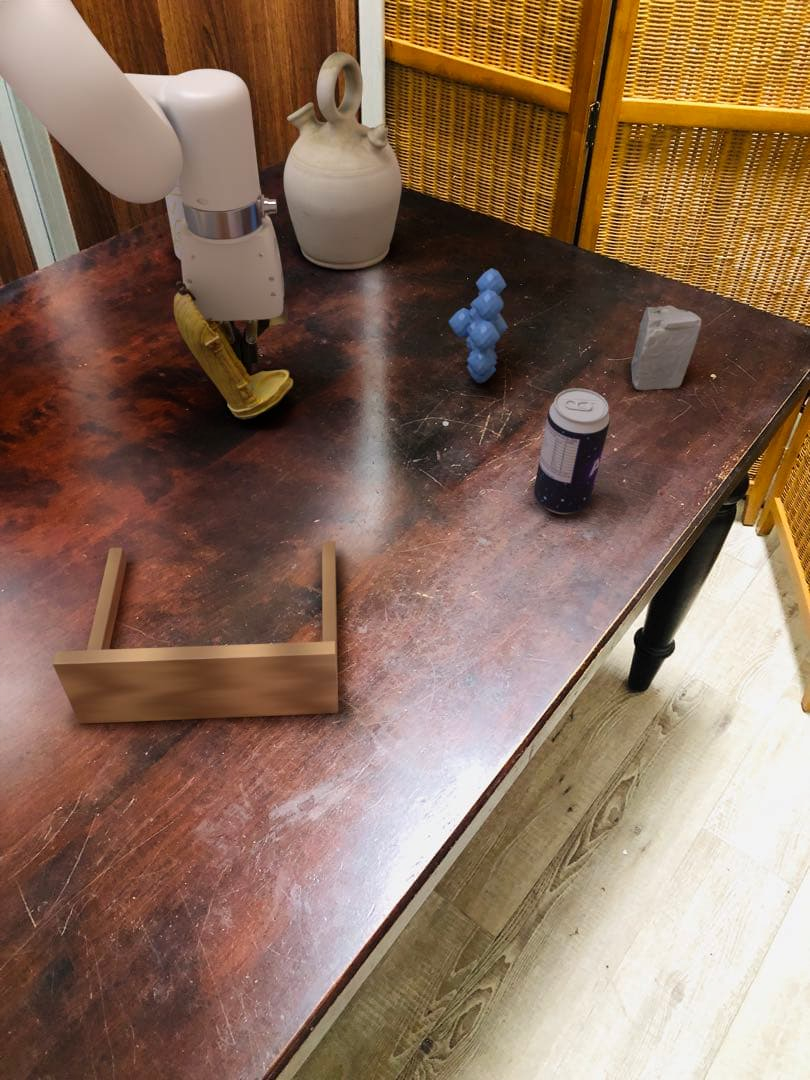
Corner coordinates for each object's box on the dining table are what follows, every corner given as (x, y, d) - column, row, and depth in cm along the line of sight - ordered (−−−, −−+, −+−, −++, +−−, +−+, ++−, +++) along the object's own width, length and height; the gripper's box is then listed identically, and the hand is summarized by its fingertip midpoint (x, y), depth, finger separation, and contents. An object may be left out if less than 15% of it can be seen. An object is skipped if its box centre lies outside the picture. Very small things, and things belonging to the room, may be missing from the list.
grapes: (450, 337, 108) (457, 246, 99) (505, 343, 108) (517, 252, 99) (439, 394, 100) (446, 300, 91) (499, 400, 100) (511, 307, 91)
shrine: (183, 427, 95) (158, 305, 84) (200, 382, 100) (179, 262, 89) (289, 434, 94) (278, 312, 84) (300, 388, 100) (291, 268, 89)
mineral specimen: (707, 378, 102) (714, 323, 96) (638, 402, 102) (641, 349, 96) (676, 341, 107) (681, 287, 101) (610, 364, 107) (611, 311, 100)
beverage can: (588, 523, 86) (612, 427, 78) (530, 515, 87) (548, 419, 78) (590, 484, 90) (613, 389, 82) (534, 477, 91) (552, 382, 82)
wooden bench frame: (79, 724, 69) (52, 664, 64) (114, 562, 81) (94, 499, 75) (338, 713, 71) (335, 653, 65) (335, 555, 82) (333, 493, 77)
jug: (266, 246, 122) (248, 49, 104) (351, 212, 130) (348, 24, 112) (336, 290, 115) (330, 87, 97) (422, 252, 122) (431, 57, 104)
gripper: (300, 193, 89) (311, 346, 102) (150, 196, 88) (182, 350, 102) (300, 229, 84) (312, 385, 97) (141, 232, 83) (175, 390, 96)
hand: (245, 367), depth 99 cm, fingers closed
